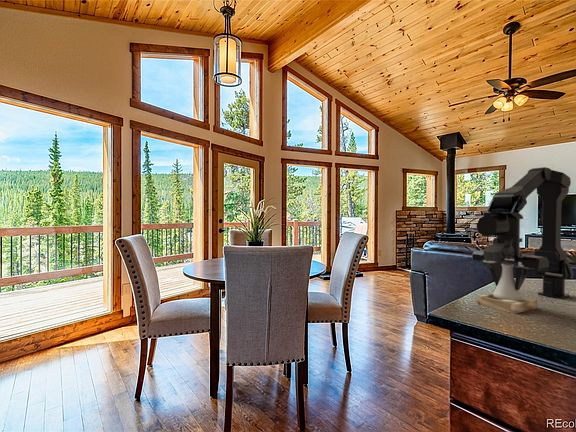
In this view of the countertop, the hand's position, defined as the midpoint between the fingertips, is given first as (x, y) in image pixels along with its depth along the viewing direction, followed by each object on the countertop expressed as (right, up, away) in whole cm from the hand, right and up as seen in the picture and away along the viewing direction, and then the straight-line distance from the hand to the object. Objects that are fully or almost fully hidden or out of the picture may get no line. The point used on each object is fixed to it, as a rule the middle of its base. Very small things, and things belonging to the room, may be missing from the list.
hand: (507, 287), depth 98 cm
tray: (0, -5, 0) cm, 5 cm away
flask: (0, -3, 0) cm, 3 cm away
